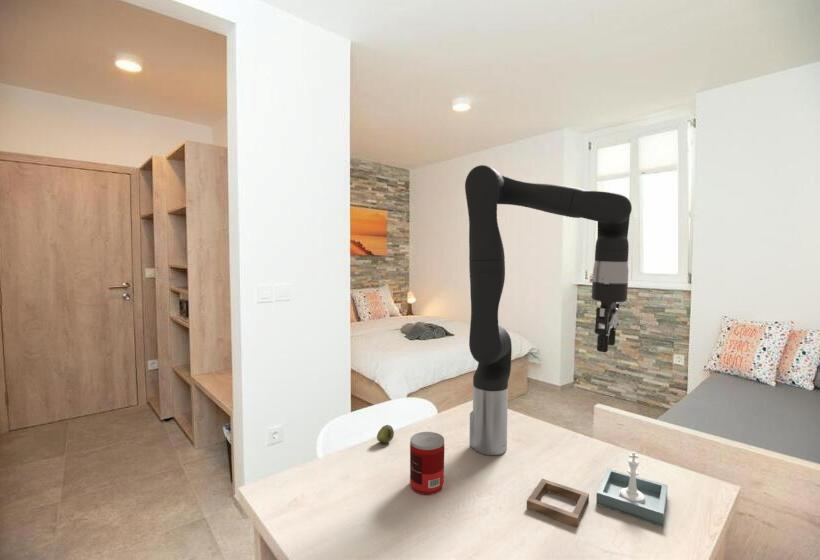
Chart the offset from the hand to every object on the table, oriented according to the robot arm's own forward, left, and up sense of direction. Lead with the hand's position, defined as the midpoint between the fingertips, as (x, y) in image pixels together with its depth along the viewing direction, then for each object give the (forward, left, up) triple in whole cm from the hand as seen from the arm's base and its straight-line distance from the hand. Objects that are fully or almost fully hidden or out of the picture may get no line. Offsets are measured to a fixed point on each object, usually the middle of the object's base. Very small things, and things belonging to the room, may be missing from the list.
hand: (606, 348), depth 97 cm
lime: (-52, -19, -31) cm, 64 cm away
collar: (-5, -20, -30) cm, 37 cm away
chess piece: (+8, -9, -30) cm, 32 cm away
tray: (+8, -9, -30) cm, 33 cm away
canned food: (-31, -30, -31) cm, 53 cm away
